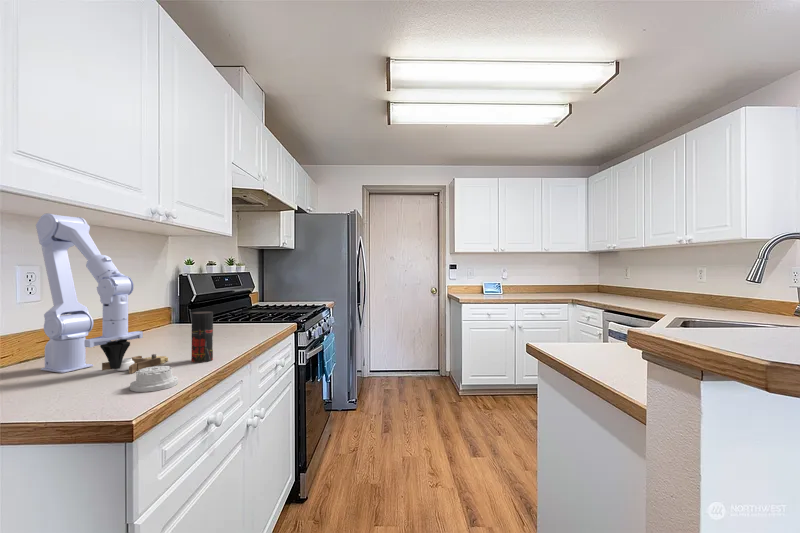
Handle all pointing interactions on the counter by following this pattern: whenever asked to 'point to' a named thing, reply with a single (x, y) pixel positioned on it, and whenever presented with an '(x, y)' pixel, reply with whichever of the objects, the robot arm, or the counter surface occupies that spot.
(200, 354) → the deodorant
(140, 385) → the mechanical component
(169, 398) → the counter surface
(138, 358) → the gear station
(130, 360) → the white jar
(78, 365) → the robot arm
